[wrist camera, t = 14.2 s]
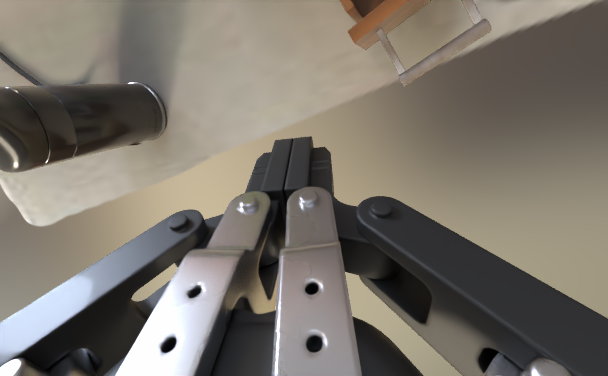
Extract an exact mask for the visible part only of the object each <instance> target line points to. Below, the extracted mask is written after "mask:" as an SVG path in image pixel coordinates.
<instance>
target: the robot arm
mask: <svg viewBox="0 0 608 376" xmlns="http://www.w3.org/2000/svg"><path fill="white" fill-rule="evenodd" d="M0 58H1V59H2V60H3V61H4V62H5V63H7V64H8V65H9V66H10V67H11V68H13V69H14V70H15V71H17V72H18V73H19V74H21V75H22V76H24V77H25V78H26V79H28V80H29V81H30V82H32V83H33V84H35V85H36V86H19V87H0V170H2V171H5V172H10V173H15V172H23V171H28V170H32V169H35V168H39V167H43V166H47V165H51V164H55V163H59V162H63V161H67V160H70V159H74V158H78V157H82V156H86V155H90V154H95V153H99V152H103V151H107V150H111V149H115V148H119V147H123V146H127V145H138V144H142V143H139V142H143V141H147V140H153V139H156V138H158V137H160V136H161V135H162V133H163V132H164V129H165V126H166V114H165V109H164V106H163V104H162V102H161V100H160V98H159V97H158V95H157V94H156V93H155V91H154V90H153V89H151V88H150V87H149V86H147V85H145V84H143V83H139V82H132V83H119V84H82V83H77V84H73V85H48V86H44V85H43V84H41V83H40V82H38V81H37V80H35V79H34V78H33V77H31V76H30V75H28V74H27V73H26V72H24V71H23V70H21V69H20V68H19V67H18V66H16V65H15V64H14V63H13V62H11V61H10V60H9V59H8V58H7V57H6V56H4V55H3V54H2V53H1V52H0ZM135 143H137V144H135ZM173 263H175V264H176V265H177V267H178V269H177V271H176V273H175V274H174V276H173V278H172V279H171V280H170V281H169V282H168V283H166V284H165V285H164V286H162V287H161V288H160V289H159V290H157V291H156V292H155V293H154V294H152V295H151V296H149V297H148V298H147V299H145V300H143V301H139V302H136V301H133V300H131V298H132V296H133V294H134V293H135V292H136V291H137V290H138V289H140V288H141V287H142V286H144V285H145V284H146V283H148V282H149V281H150V280H152V279H153V278H155V277H156V276H157V275H159V274H160V273H161V272H163V271H164V270H165V269H167V268H168V267H169V266H171V265H172V264H173ZM345 272H348V273H352V274H356V275H359V277H360V279H361V281H362V282H363V283H364V284H365V285H366V286H367V287H368V288H369V289H370V290H371V291H372V292H373V293H374V294H375V295H376V296H378V297H379V298H380V299H381V300H382V301H383V302H384V303H385V304H386V305H387V306H388V307H389V308H390V309H391V310H393V311H394V312H395V313H396V314H397V315H398V316H399V317H400V318H401V319H402V320H403V321H404V322H405V323H407V324H408V325H409V326H410V327H411V328H412V329H413V330H414V331H415V332H416V333H417V334H418V335H419V336H421V337H422V338H423V339H424V340H425V341H426V342H427V343H428V344H429V345H430V346H431V347H432V348H434V349H435V350H436V351H437V352H438V353H439V354H440V355H441V356H442V357H443V358H444V359H445V360H446V361H447V362H449V363H450V364H451V365H452V366H453V367H454V368H455V369H456V370H457V371H458V372H459V373H460V374H462V375H463V376H608V319H607V318H605V317H604V316H602V315H600V314H599V313H597V312H595V311H593V310H591V309H590V308H588V307H586V306H584V305H583V304H581V303H579V302H577V301H575V300H574V299H572V298H570V297H568V296H567V295H565V294H563V293H561V292H560V291H558V290H556V289H554V288H552V287H550V286H549V285H547V284H545V283H544V282H542V281H540V280H538V279H537V278H535V277H533V276H531V275H529V274H528V273H526V272H524V271H522V270H520V269H519V268H517V267H515V266H513V265H512V264H510V263H508V262H506V261H505V260H503V259H501V258H499V257H498V256H496V255H494V254H492V253H490V252H488V251H487V250H485V249H483V248H482V247H480V246H478V245H476V244H474V243H472V242H471V241H469V240H467V239H465V238H464V237H462V236H460V235H459V234H457V233H455V232H453V231H451V230H450V229H448V228H446V227H444V226H443V225H441V224H439V223H437V222H435V221H434V220H432V219H430V218H428V217H427V216H425V215H423V214H421V213H419V212H418V211H416V210H414V209H412V208H411V207H409V206H407V205H405V204H404V203H402V202H400V201H398V200H396V199H393V198H391V197H385V196H376V197H371V198H368V199H366V200H364V201H362V202H361V203H360V204H359V205H358V207H356V206H350V205H346V204H343V203H341V202H339V201H338V200H337V199H336V198H335V197H334V187H333V175H332V164H331V154H330V152H329V151H328V150H327V149H326V148H325V147H319V148H313V141H312V137H301V138H294V139H293V138H292V139H282V140H275V143H274V146H273V149H272V152H271V153H270V152H269V153H264V154H263V155H262V156H261V157H260V158H258V160H257V161H256V164H255V167H254V170H253V172H252V175H251V178H250V180H249V183H248V186H247V189H246V191H245V193H244V194H241V195H239V196H238V197H236V198H235V199H233V200H232V201H231V203H230V204H229V206H228V207H227V209H226V211H225V213H224V214H222V215H219V216H216V217H212V218H209V219H205V220H204V218H203V216H202V214H201V213H200V212H199V211H196V210H184V211H180V212H177V213H175V214H173V215H171V216H169V217H168V218H166V219H165V220H163V221H161V222H160V223H158V224H157V225H155V226H153V227H152V228H150V229H149V230H147V231H145V232H144V233H142V234H141V235H139V236H137V237H136V238H134V239H133V240H131V241H130V242H128V243H126V244H125V245H123V246H122V247H120V248H118V249H117V250H115V251H114V252H112V253H110V254H109V255H107V256H106V257H104V258H102V259H101V260H99V261H98V262H96V263H95V264H93V265H91V266H90V267H88V268H87V269H85V270H83V271H82V272H80V273H79V274H77V275H75V276H74V277H72V278H71V279H69V280H68V281H66V282H64V283H63V284H61V285H60V286H58V287H56V288H55V289H53V290H52V291H50V292H48V293H47V294H45V295H44V296H42V297H40V298H39V299H38V300H36V301H34V302H32V303H31V304H29V305H28V306H26V307H25V308H23V309H21V310H20V311H18V312H17V313H15V314H13V315H12V316H10V317H9V318H7V319H5V320H4V321H2V322H1V323H0V376H423V375H422V373H421V372H420V371H419V370H418V369H417V368H416V367H415V366H414V365H413V364H412V362H410V360H409V359H408V358H407V357H406V356H405V355H404V354H403V353H402V352H401V351H400V349H399V348H398V347H397V346H396V345H395V344H394V343H393V342H392V341H391V340H390V339H389V338H388V337H387V336H385V335H384V334H383V333H382V332H381V331H379V330H378V329H377V328H375V327H374V326H372V325H370V324H368V323H367V322H365V321H363V320H360V319H357V318H355V317H352V313H351V306H350V300H349V294H348V288H347V282H346V276H345ZM275 306H276V310H275Z"/></svg>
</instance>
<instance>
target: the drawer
mask: <svg viewBox="0 0 608 376" xmlns="http://www.w3.org/2000/svg"><path fill="white" fill-rule="evenodd" d="M429 1H431V0H340V2H341V3H342V5H343V7H344V9H345V10H346V12H347V13H348V14H349V15H350V16H351V17H352V18H353V19H354V20H355V22H356V23H357V24H356V25H355V26H353V27H352V28H351V29H350V30H349V31H348V33H349V35H350V36H351V38H352V40H353V42H354V43H355V44H357V45H359V46H360V47H362V48H364V49H365V50H366V49H368V48H369V47H370V46H372V45H373V44H374V43H375V42H377V41H378V40H379V39H380V41H381V42H382V44H383V46H384V48H385V49H386V51H387V53H388V55H389V57H390V58H391V60H392V62H393V64H394V65H395V67H396V69H397V71H398V73H399V74H400V75H399V76H398V77H399V79H400V81H401V83H402V84H403V86H406V85H408V84H409V83H411V82H412V81H414V80H415V79H416V78H419V77H420V76H422V75H423V74H425V73H426V72H428V71H429V70H431V69H433V68H434V67H436V66H437V65H439V64H440V63H442V62H443V61H445V60H447V59H448V58H450V57H451V56H453V55H454V54H456V53H457V52H459V51H461V50H462V49H464V48H465V47H467V46H468V45H470V44H472V43H473V42H475V41H476V40H478V39H479V38H481V37H482V36H484V35H486V34H487V33H489V32H490V31H491V26H490V24H489V22H488V20H487V19H483V20H482V17H481V15H480V13H479V11H478V9H477V7H476V5H475V3H474V1H473V0H462V2H463V4H464V6H465V8H466V10H467V12H468V14H469V16H470V18H471V20H472V22H473V24H474V26H472V27H471V28H470V29H468V30H467V31H465V32H464V33H462V34H461V35H459V36H458V37H456V38H455V39H453V40H452V41H450V42H449V43H447V44H446V45H444V46H443V47H441V48H440V49H438V50H437V51H435V52H434V53H432V54H431V55H429V56H428V57H426V58H425V59H423V60H422V61H420V62H419V63H417V64H416V65H414V66H413V67H411V68H410V69H408V70H407V71H405V69H404V67H403V66H402V64H401V62H400V60H399V58H398V57H397V55H396V53H395V51H394V49H393V48H392V46H391V44H390V42H389V41H388V39H387V37H386V34H387V33H389V32H390V31H391V30H393V29H394V28H395V27H397V26H398V25H399V24H400V23H402V22H403V21H404V20H406V19H407V18H408V17H410V16H411V15H412V14H414V13H415V12H416V11H418V10H419V9H420V8H422V7H423V6H424V5H426V4H427V3H428V2H429Z"/></svg>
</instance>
